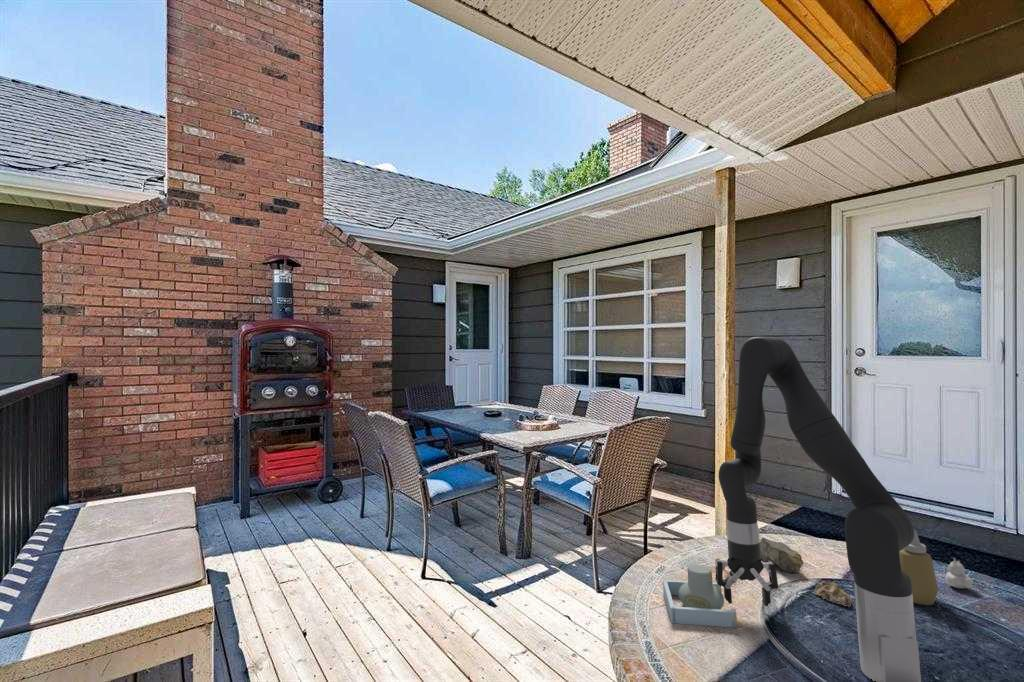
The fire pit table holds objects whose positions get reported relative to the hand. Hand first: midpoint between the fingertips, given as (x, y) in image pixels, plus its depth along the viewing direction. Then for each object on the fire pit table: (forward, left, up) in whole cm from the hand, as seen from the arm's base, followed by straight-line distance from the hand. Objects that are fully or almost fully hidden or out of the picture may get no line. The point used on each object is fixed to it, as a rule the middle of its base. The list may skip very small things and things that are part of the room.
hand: (747, 603), depth 120 cm
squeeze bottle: (+12, -45, -2) cm, 46 cm away
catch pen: (0, +13, -2) cm, 13 cm away
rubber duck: (+21, -60, -2) cm, 63 cm away
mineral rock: (+11, -24, -2) cm, 27 cm away
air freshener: (0, +11, -2) cm, 11 cm away
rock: (+32, -18, -2) cm, 37 cm away
